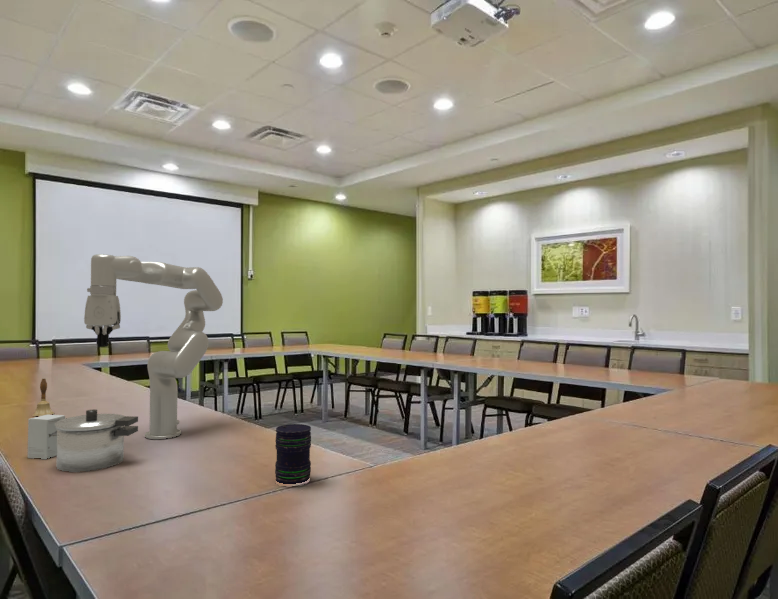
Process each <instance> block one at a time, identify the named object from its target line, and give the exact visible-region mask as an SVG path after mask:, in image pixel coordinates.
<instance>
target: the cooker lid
mask: <svg viewBox="0 0 778 599" xmlns="http://www.w3.org/2000/svg"><path fill="white" fill-rule="evenodd" d="M138 422H139V416H135V415H134V416H130V415H129V416H125V415H123V414H118V413H98V409H87V410H85V414H83V415H76V416H71V417H65V419H62V420H59V421H57V422H56V423H55V429H57V430H61V431H92V430H100V429H106V428H111V427H115V426H133V425H134V424H136V423H138Z"/></svg>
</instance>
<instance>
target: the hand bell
mask: <svg viewBox="0 0 778 599" xmlns="http://www.w3.org/2000/svg"><path fill="white" fill-rule="evenodd" d="M47 388H48V382H47V380H46V378H41V380H40V385H39V389H40V392H41V395H40V401H39V402H37V405H36V409H35V412H34V413H33V414H32V415H33V416H43V415H50V414H53V415H55V414H54V413H55V412H54V411H53V410H52V409H51V406H50V402H49V401H47V400H46V397H47V396H46V393H47V390H48V389H47ZM33 416H32V417H33Z"/></svg>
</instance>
